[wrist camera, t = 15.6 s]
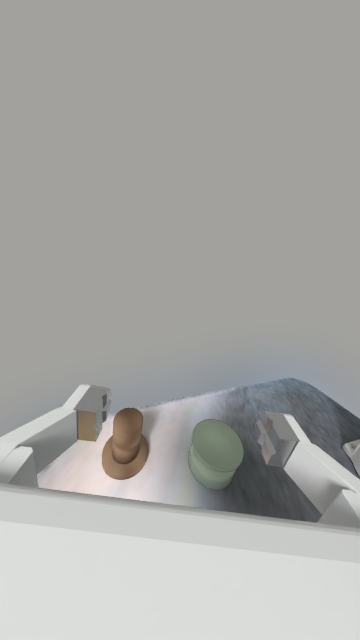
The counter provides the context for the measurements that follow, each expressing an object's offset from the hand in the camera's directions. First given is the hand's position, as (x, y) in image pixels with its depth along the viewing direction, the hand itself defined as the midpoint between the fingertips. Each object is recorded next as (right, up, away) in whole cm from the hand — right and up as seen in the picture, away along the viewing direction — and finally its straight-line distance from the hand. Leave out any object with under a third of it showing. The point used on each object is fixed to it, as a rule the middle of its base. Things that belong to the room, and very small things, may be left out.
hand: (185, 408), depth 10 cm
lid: (-11, -21, +25) cm, 35 cm away
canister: (+6, -24, +26) cm, 36 cm away
